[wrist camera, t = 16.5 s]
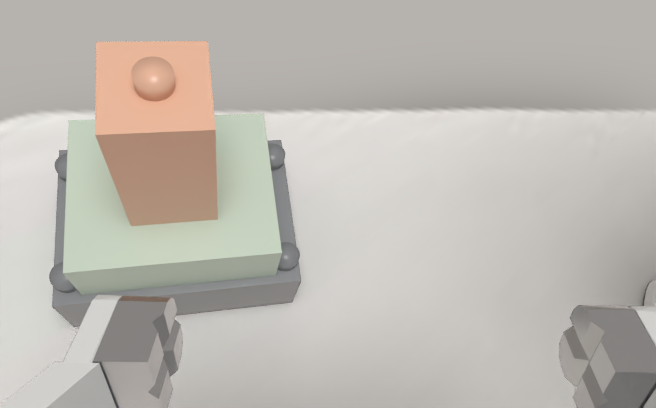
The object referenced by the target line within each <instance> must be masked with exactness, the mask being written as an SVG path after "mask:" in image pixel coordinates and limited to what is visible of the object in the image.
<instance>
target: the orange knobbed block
mask: <svg viewBox="0 0 656 408" xmlns="http://www.w3.org/2000/svg"><path fill="white" fill-rule="evenodd" d="M95 136H96V138H97V141H98V143H99V146H100V149H101V151H102V154H103V156H104V159H105V161H106V164H107V166H108V169H109V171H110V174H111V177H112V179H113V182H114V184H115V187H116V189H117V192H118V194H119V197H120V199H121V202H122V205H123V207H124V210H125V212H126V215H127V217H128V220H129V222H130V225H131V226H140V225H153V224H166V223H179V222H192V221H205V220H217V219H218V207H217V167H216V129H215V118H214V107H213V95H212V85H211V74H210V62H209V50H208V42H207V41H178V42H177V41H176V42H175V41H173V42H97V45H96V112H95Z"/></svg>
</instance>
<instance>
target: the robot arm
mask: <svg viewBox="0 0 656 408" xmlns="http://www.w3.org/2000/svg"><path fill="white" fill-rule="evenodd" d="M176 312H177V307H176V303H175V300H174V298H166V297H145V296H115V295H97V296H96V297H95V298H94V299H93V300H92V301H91V304H90V306H89V308H88V310H87V312H86V314H85V316H84V318H83V320H82V323H81V325H80V327H79V329H78V331H77V333H76V335H75V337H74V339H73V341H72V344H71V346H70V348H69V350H68V352H67V354H66V356H65V358H64V360H63V362H55V363H53V364H52V365H51V366H49V367H48V368H47V369H45V370H44V371H43V372H41V373H40V374H39V375H38V376H36V377H35V378H34V379H32V380H31V381H30V382H28V383H27V384H26V385H24V386H23V387H22V388H21V389H19V390H18V391H17V392H15V393H14V394H13V395H11V396H10V397H9V398H7V399H6V400H5V401H4V402H2V403H1V404H0V408H168V405H169V401H170V398H171V394H172V390H173V388H172V384H171V380H170V377H171V376H172V375H173V374H174V373H175V372H176V371H177V370H178V368H179V364H180V360H181V354H182V345H183V338H182V329H181V324H179V323H178V322H177V321H176V320H175V316H176ZM570 319H571V322H572V324H573V326H572V327H571V328H569V329H568V330H566V331H565V332H563V335H562V338H561V340H560V343H559V358H560V363H561V368H562V370H563V373H564V376H565V378H566V379H567V380H569V381H570V382H571V383H572V384H573V385H574V386H575V387H577V388H576V390H575V393H574V395H573V399H574V402H575V404H576V407H577V408H656V280H654V281H652V282H650V284H649V285H648V287H647V290H646V294H645V300H644V306H628V307H627V306H592V305H578V306H577V307H576V308H575V309H574V310H573V312H572V314H571V316H570Z"/></svg>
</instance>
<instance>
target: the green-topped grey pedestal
mask: <svg viewBox="0 0 656 408" xmlns="http://www.w3.org/2000/svg"><path fill="white" fill-rule="evenodd" d="M214 118H215V129H216V167H217V207H218V219H217V220H205V221H192V222H179V223H166V224H153V225H140V226H131V225H130V222H129V220H128V217H127V215H126V212H125V210H124V207H123V205H122V202H121V199H120V197H119V194H118V192H117V189H116V187H115V184H114V182H113V179H112V177H111V174H110V171H109V169H108V166H107V164H106V161H105V159H104V156H103V154H102V151H101V149H100V146H99V143H98V141H97V138H96V136H95V120H71V121H69V126H68V150H59V158H58V159H57V160H56V162H55V169H56V171H57V173H58V191H57V213H56V235H55V257H54V267H53V268H52V270H51V272H50V275H49V279H50V282H51V284H52V285H53V301H52V307H53V308H54V309H55V310H56V311H57V312H59V313H60V314H61V315H62V316H63V317H64V318H65V319H66V320H67V321H68V322H70V323H71V324H72V325H73V326H74V327H77V326H80V325H81V323H82V320H83V318H84V316H85V314H86V312H87V310H88V308H89V306H90V304H91V301H92V300H93V299H94V298H95V297H96V296H97V295H115V296H145V297H166V298H174V300H175V303H176V307H177V312H176V315H183V314H192V313H201V312H210V311H219V310H228V309H237V308H246V307H254V306H263V305H272V304H281V303H290V302H292V301H293V299H294V297H295V294H296V292H297V290H298V287H299V285H300V282H301V276H300V269H299V262H298V260H299V256H300V253H299V250H298V248H297V247H296V241H295V234H294V227H293V220H292V213H291V206H290V199H289V192H288V185H287V178H286V171H285V164H284V159H285V151H284V149H283V148H282V143H281V140H272V141H267V135H266V127H265V119H264V114H239V115H214Z"/></svg>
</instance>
